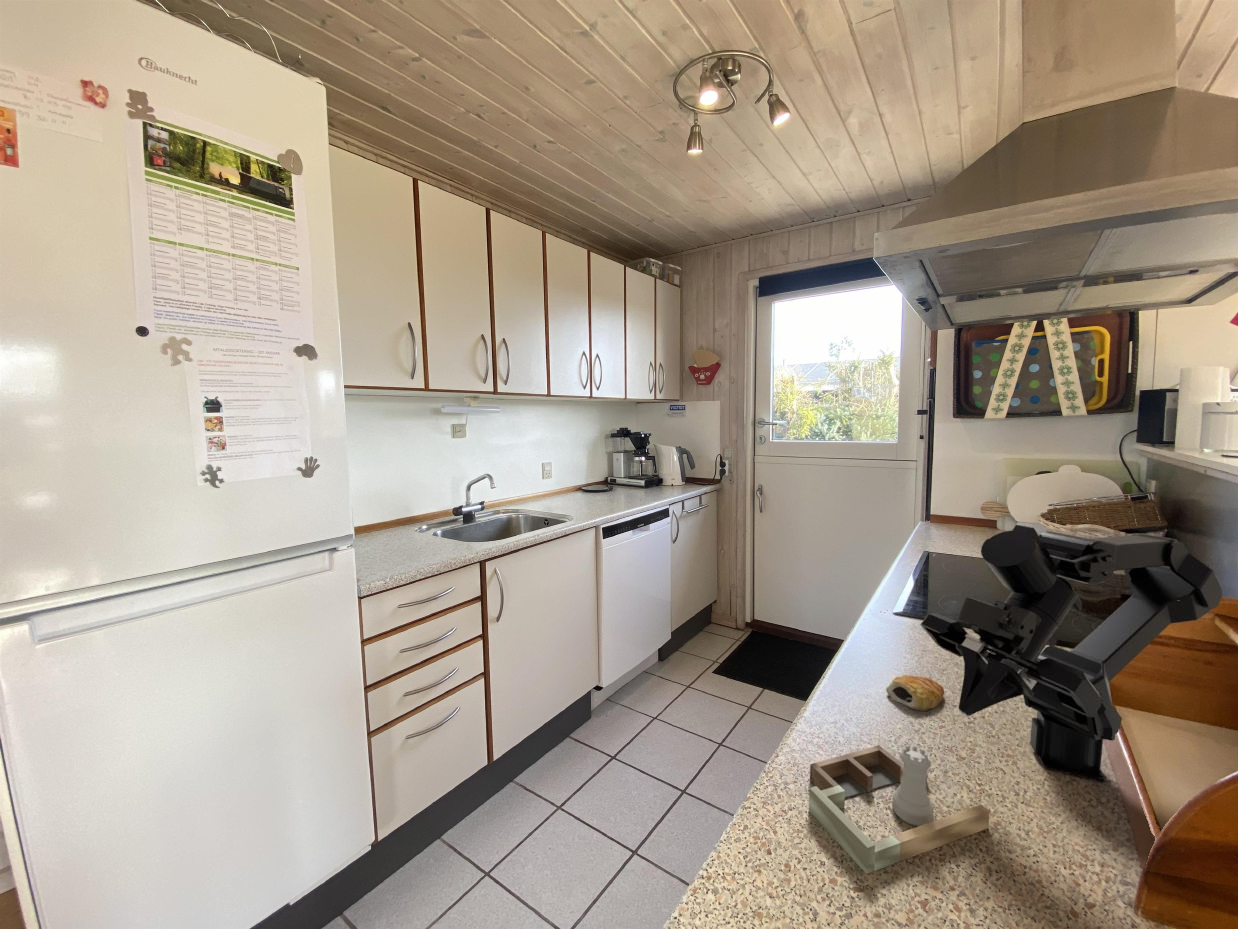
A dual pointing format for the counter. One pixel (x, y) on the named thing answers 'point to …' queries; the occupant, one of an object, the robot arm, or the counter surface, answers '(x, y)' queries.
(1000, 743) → the counter surface
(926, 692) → the pastry
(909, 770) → the rook chess piece
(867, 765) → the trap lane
